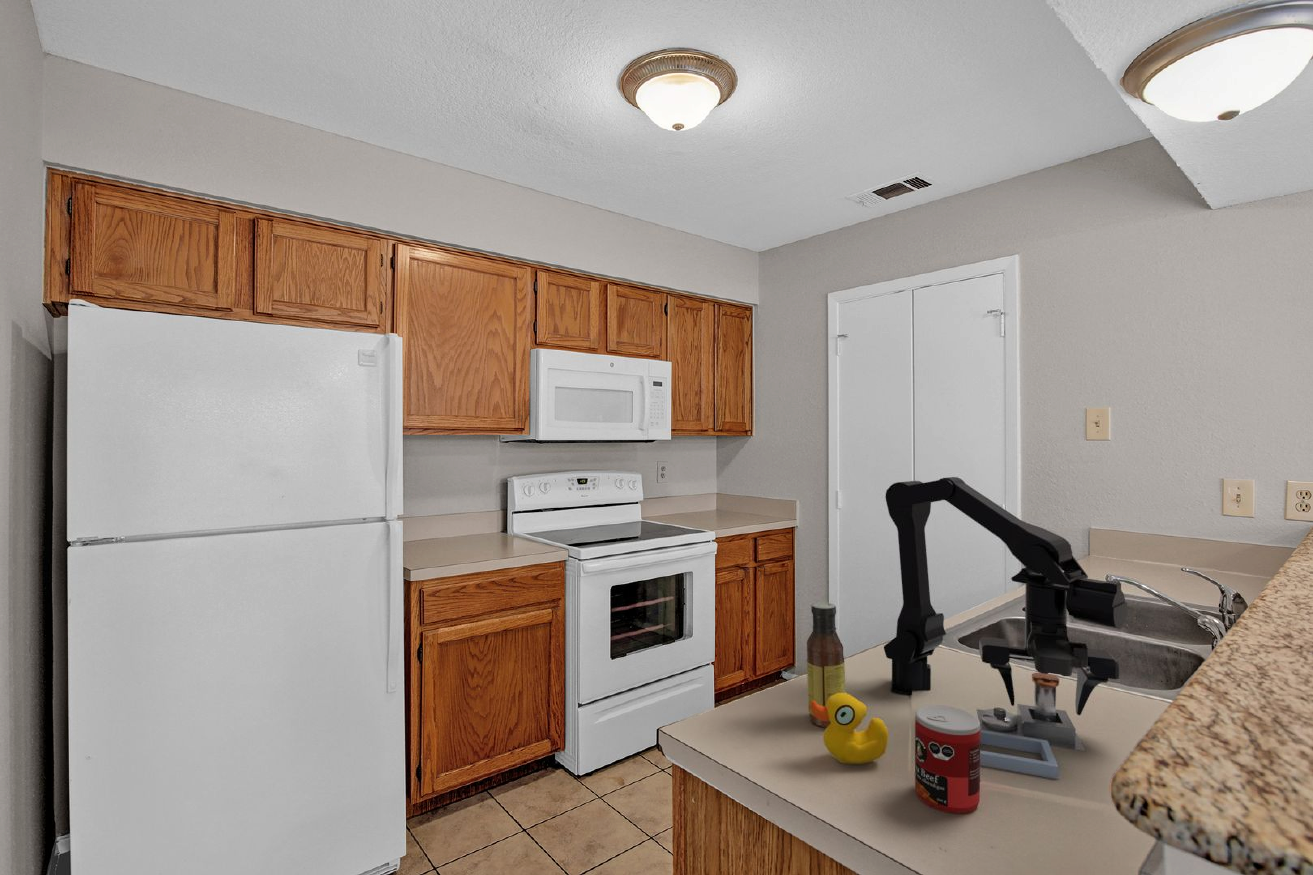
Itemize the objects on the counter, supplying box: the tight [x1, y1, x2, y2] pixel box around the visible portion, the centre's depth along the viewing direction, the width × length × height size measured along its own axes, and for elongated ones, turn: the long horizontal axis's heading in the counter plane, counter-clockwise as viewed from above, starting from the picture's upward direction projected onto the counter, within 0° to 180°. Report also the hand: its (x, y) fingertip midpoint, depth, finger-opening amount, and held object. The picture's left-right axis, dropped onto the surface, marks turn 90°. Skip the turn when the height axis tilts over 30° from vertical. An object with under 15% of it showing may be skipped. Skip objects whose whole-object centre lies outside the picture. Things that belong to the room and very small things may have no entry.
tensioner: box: [976, 703, 1086, 752], centre depth 104 cm, size 14×10×3 cm
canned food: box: [914, 704, 981, 814], centre depth 86 cm, size 8×8×11 cm
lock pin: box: [1031, 672, 1060, 723], centre depth 103 cm, size 4×4×9 cm
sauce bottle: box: [806, 601, 847, 729], centre depth 108 cm, size 7×6×20 cm
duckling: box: [810, 692, 889, 765], centre depth 95 cm, size 11×5×10 cm, turn 85°
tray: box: [980, 729, 1060, 780], centre depth 95 cm, size 11×8×2 cm
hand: (1044, 709), depth 103 cm, fingers open, 9 cm apart
